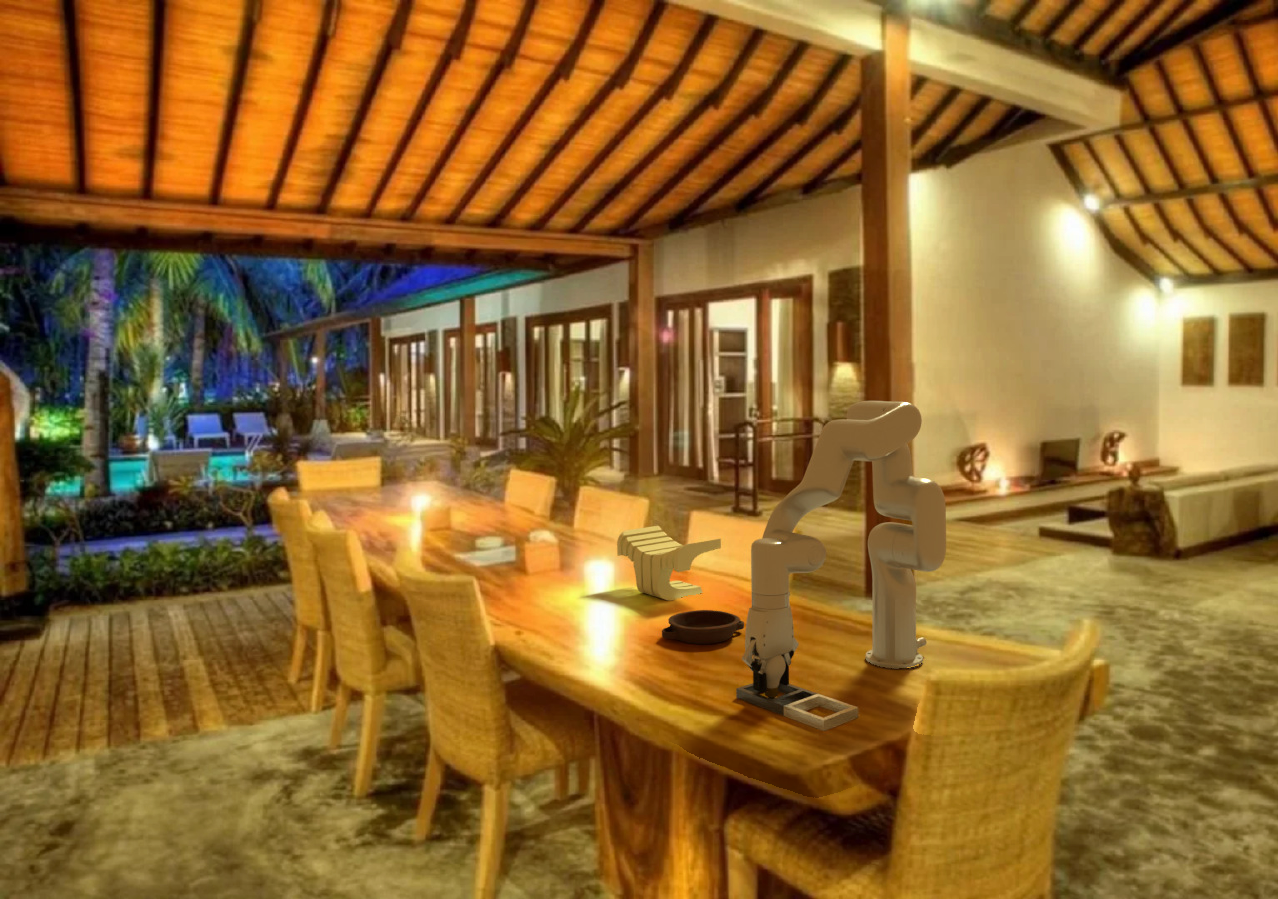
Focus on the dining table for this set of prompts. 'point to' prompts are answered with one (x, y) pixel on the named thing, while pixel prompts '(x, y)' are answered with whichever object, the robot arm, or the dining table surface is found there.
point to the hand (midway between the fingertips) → (771, 686)
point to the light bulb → (773, 674)
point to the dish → (702, 626)
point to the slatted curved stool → (661, 560)
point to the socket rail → (800, 705)
